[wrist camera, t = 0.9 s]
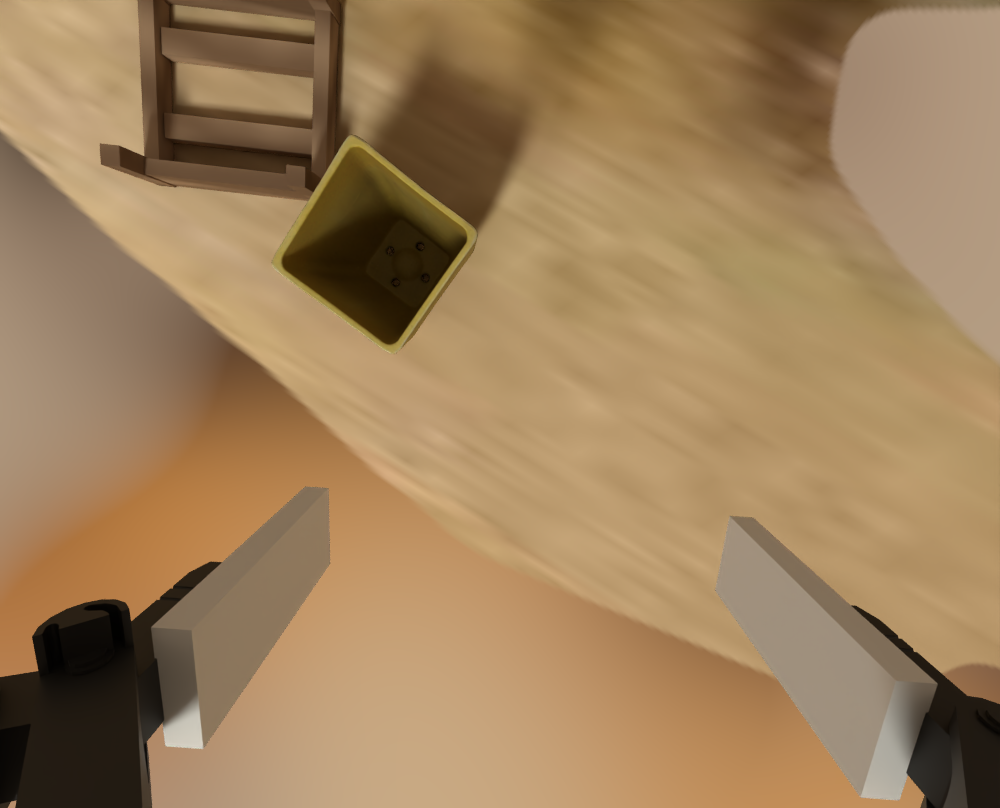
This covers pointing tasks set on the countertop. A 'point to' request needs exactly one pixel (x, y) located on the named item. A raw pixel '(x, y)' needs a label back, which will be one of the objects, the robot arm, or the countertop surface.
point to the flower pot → (374, 246)
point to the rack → (169, 128)
